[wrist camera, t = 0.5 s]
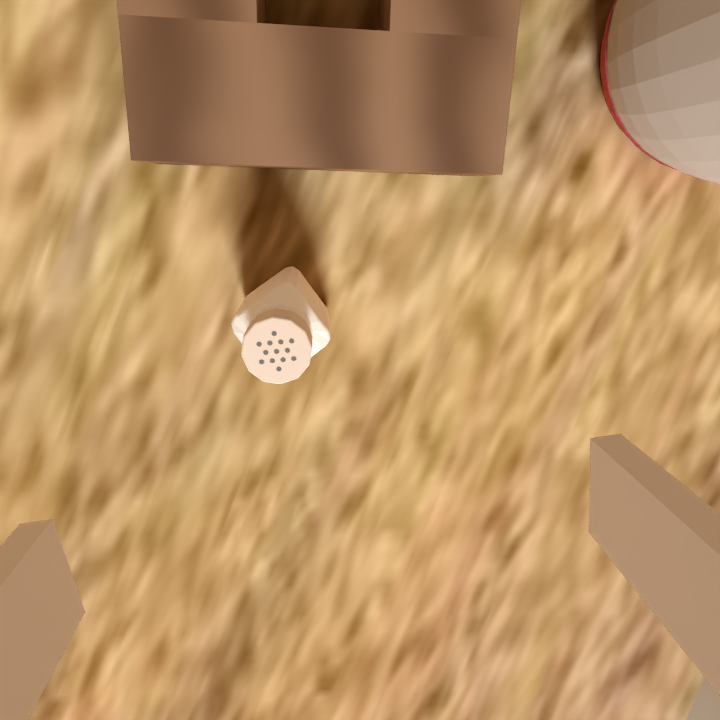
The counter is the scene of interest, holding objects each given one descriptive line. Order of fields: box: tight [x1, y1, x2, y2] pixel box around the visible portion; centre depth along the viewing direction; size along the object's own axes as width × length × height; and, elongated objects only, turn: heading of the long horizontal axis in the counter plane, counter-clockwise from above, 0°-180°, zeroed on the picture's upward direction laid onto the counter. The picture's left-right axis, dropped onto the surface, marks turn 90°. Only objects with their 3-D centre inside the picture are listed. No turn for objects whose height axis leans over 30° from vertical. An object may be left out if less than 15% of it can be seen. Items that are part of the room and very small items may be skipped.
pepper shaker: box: [231, 266, 331, 384], centre depth 29 cm, size 4×4×10 cm
